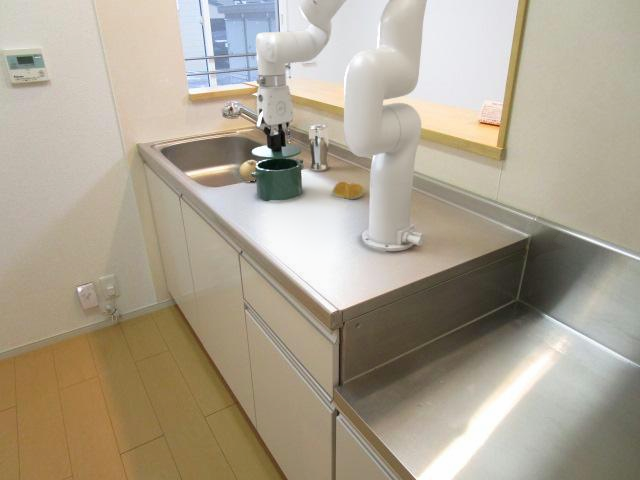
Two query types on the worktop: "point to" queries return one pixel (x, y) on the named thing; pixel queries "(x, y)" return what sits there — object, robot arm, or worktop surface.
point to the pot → (278, 179)
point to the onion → (247, 170)
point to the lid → (277, 150)
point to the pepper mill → (319, 146)
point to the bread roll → (348, 190)
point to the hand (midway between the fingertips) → (276, 146)
